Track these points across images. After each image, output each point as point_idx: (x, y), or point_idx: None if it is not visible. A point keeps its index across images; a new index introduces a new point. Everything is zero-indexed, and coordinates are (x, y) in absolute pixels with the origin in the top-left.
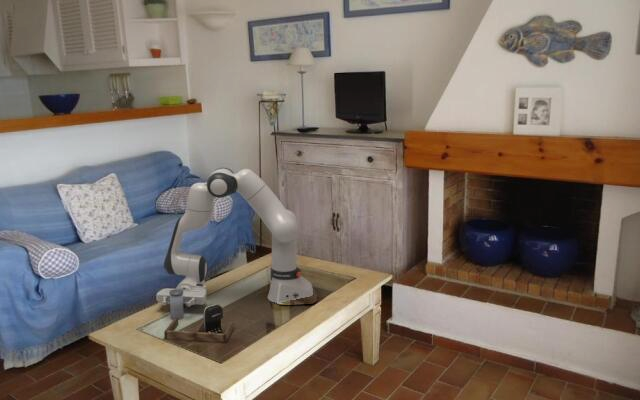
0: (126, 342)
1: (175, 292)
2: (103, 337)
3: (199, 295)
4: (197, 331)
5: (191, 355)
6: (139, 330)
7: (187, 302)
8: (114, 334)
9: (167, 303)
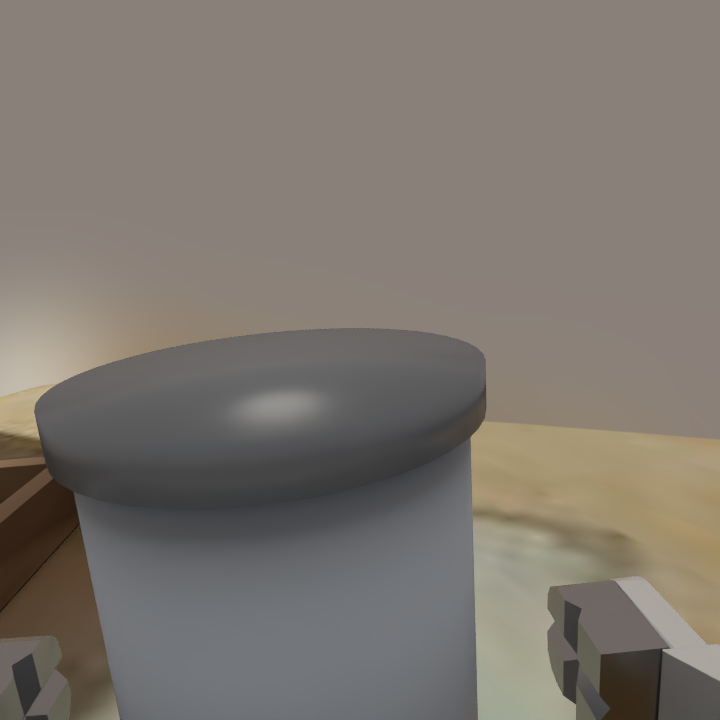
0: (516, 440)
1: (286, 351)
2: (705, 443)
3: None
4: (46, 468)
5: None
6: (575, 526)
7: (5, 642)
8: (687, 468)
9: (584, 717)
